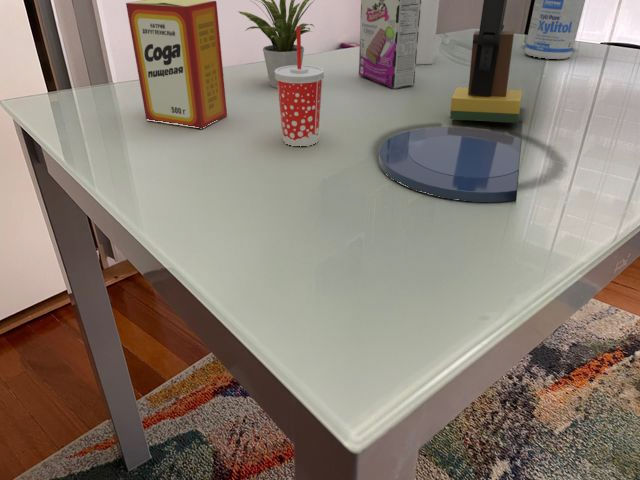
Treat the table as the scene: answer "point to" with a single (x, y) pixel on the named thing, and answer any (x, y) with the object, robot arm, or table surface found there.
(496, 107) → the sponge
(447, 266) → the table surface
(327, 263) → the table surface
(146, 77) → the baking soda box
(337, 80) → the table surface
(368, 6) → the candy bar box
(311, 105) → the beverage cup
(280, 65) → the house plant
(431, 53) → the milk
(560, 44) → the supplement tub
